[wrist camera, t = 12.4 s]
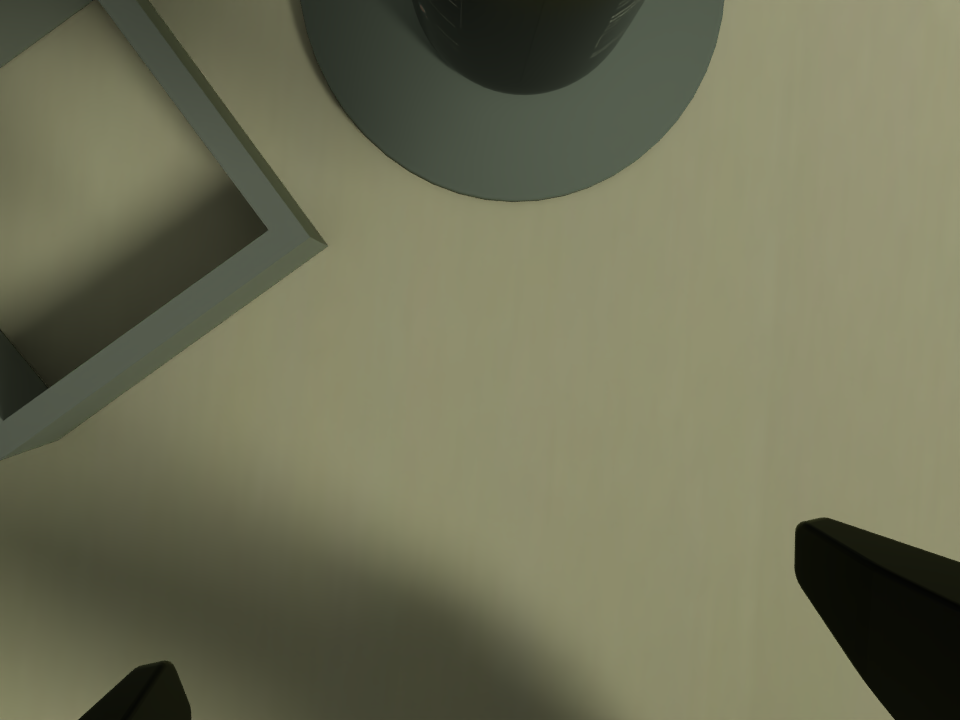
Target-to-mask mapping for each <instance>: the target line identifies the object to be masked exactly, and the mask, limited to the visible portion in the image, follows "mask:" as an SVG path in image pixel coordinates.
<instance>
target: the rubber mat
mask: <svg viewBox="0 0 960 720" xmlns="http://www.w3.org/2000/svg"><path fill="white" fill-rule="evenodd" d="M301 6H302V11H303V16H304V20H305V25H306V30H307V34H308V36H309V39H310V42H311V45H312V48H313V51H314V54H315V57H316V60H317V62H318V64H319V66H320V68H321V70H322V72H323V74H324V76H325V78H326V80H327V82H328V85H329V87H330V88H331V90H332V92H333V93H334V95H335V97H336V98H337V100H338V101H339V103H340V104H341V106H342V107H343V109H344V110H345V112H346V113H347V115H348V116H349V117H350V119H351V120H352V121H353V122H354V123H355V124H356V126H357V127H358V128H359V129H360V130H361V132H362V133H363V134H364V135H365V136H366V137H367V138H368V139H369V140H370V141H371V142H372V143H373V144H374V145H375V146H377V147H378V148H379V149H380V150H381V151H382V152H383V153H384V154H385V155H386V156H388V157H389V158H391V159H392V160H393V161H395V162H396V163H398V164H399V165H401V166H402V167H403V168H405V169H406V170H408V171H409V172H411V173H413V174H415V175H417V176H418V177H420V178H422V179H424V180H426V181H428V182H430V183H432V184H434V185H437V186H439V187H442V188H445V189H447V190H450V191H453V192H456V193H458V194H462V195H467V196H471V197H476V198H480V199H485V200H495V201H507V202H520V201H539V200H544V199H550V198H555V197H560V196H565V195H568V194H571V193H574V192H577V191H580V190H583V189H586V188H589V187H591V186H593V185H595V184H597V183H600V182H602V181H604V180H606V179H608V178H610V177H612V176H614V175H615V174H617V173H618V172H620V171H621V170H623V169H624V168H626V167H627V166H629V165H630V164H632V163H633V162H635V161H636V160H637V159H639V158H640V157H641V156H642V155H643V154H645V153H646V152H647V151H648V150H649V149H650V148H651V147H653V146H654V145H655V144H656V143H657V142H658V141H659V140H660V139H661V138H662V137H663V136H664V135H665V134H666V133H667V132H668V130H669V129H670V128H671V127H672V126H673V125H674V124H675V123H676V121H677V120H678V119H679V117H680V116H681V114H682V113H683V112H684V110H685V109H686V107H687V106H688V104H689V103H690V101H691V100H692V98H693V97H694V95H695V93H696V91H697V89H698V87H699V85H700V83H701V81H702V79H703V77H704V75H705V73H706V71H707V68H708V66H709V63H710V60H711V57H712V55H713V52H714V49H715V47H716V43H717V38H718V34H719V30H720V25H721V21H722V15H723V6H724V0H645V1H644V3H643V5H642V6H641V8H640V9H639V11H638V13H637V14H636V16H635V18H634V19H633V21H632V22H631V24H630V26H629V27H628V28H627V30H626V31H625V33H624V34H623V36H622V37H621V39H620V40H619V42H618V43H617V45H616V46H615V48H614V49H613V50H612V51H611V53H610V54H609V55H608V56H607V57H606V58H605V60H603V61H602V62H601V63H600V64H599V65H598V66H597V67H596V68H595V69H594V70H593V71H591V72H590V73H589V74H588V75H586V76H584V77H583V78H581V79H580V80H578V81H576V82H574V83H572V84H571V85H569V86H566V87H563V88H561V89H558V90H555V91H551V92H548V93H542V94H536V95H512V94H505V93H500V92H496V91H493V90H490V89H487V88H484V87H482V86H480V85H478V84H475V83H473V82H472V81H470V80H468V79H467V78H465V77H463V76H462V75H461V74H459V73H458V72H457V71H455V70H454V69H453V68H452V67H451V66H450V65H449V64H447V63H446V62H445V61H444V59H443V58H442V57H441V56H440V55H439V54H438V53H437V51H436V50H435V49H434V48H433V46H432V45H431V43H430V42H429V40H428V38H427V37H426V35H425V33H424V31H423V29H422V27H421V25H420V23H419V20H418V18H417V15H416V12H415V9H414V6H413V2H412V0H301Z"/></svg>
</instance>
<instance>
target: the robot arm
mask: <svg viewBox="0 0 960 720" xmlns="http://www.w3.org/2000/svg"><path fill="white" fill-rule="evenodd" d="M794 568H795V574H796V578H797V580H798V583H799V585H800V586H801V588H802V590H803V591H804V593H805V594H806V596H807V597H808V599H809V600H810V602H811V603H812V605H813V606H814V608H815V609H816V611H817V612H818V614H819V615H820V617H821V618H822V620H823V621H824V623H825V624H826V626H827V627H828V629H829V630H830V632H831V633H832V634H833V636H834V637H835V639H836V640H837V642H838V643H839V645H840V646H841V648H842V649H843V651H844V652H845V654H846V655H847V657H848V658H849V660H850V661H851V663H852V664H853V666H854V667H855V669H856V670H857V672H858V673H859V674H860V676H861V677H862V679H863V680H864V681H865V683H866V684H867V685H868V687H869V688H870V689H871V691H872V692H873V693H874V694H875V696H876V697H877V698H878V700H879V701H880V702H881V703H882V704H883V706H884V707H885V708H886V709H887V711H888V712H889V713H890V714H891V716H892V717H893V718H894V719H895V720H960V562H958V561H955V560H952V559H949V558H946V557H943V556H940V555H937V554H934V553H931V552H928V551H925V550H922V549H919V548H916V547H913V546H910V545H907V544H904V543H901V542H898V541H895V540H892V539H890V538H887V537H884V536H881V535H878V534H875V533H872V532H869V531H866V530H863V529H860V528H857V527H854V526H851V525H848V524H845V523H842V522H839V521H836V520H833V519H830V518H817V519H813V520H808V521H803V522H801V523H799V524H798V525H797V527H796V530H795V564H794ZM78 720H191V708H190V704H189V701H188V699H187V696H186V694H185V691H184V689H183V686H182V684H181V681H180V679H179V676H178V673H177V671H176V669H175V667H174V665H173V664H172V663H171V662H169V661H160V662H156V663H151V664H146V665H142V666H139V667H137V668H135V669H134V670H133V671H131V672H130V673H129V674H128V675H127V676H126V677H125V678H124V679H123V680H121V681H120V682H119V683H118V684H117V685H116V686H115V687H114V688H113V689H112V690H110V691H109V692H108V693H107V694H106V695H105V696H104V697H103V698H102V699H101V700H99V701H98V702H97V703H96V704H95V705H94V706H93V707H92V708H91V709H89V710H88V711H87V712H86V713H85V714H84V715H83V716H82V717H81V718H80V719H78Z"/></svg>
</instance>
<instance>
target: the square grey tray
mask: <svg viewBox="0 0 960 720" xmlns="http://www.w3.org/2000/svg"><path fill="white" fill-rule="evenodd" d="M91 1H93V0H0V68H1V67H2V66H3V65H5V64H6V63H7V62H9V61H10V60H12V59H13V58H14V57H16V56H17V55H19V54H20V53H21V52H23V51H24V50H25V49H27V48H28V47H30V46H31V45H32V44H34V43H35V42H36V41H38V40H39V39H41V38H42V37H43V36H45V35H46V34H47V33H49V32H50V31H52V30H53V29H54V28H56V27H57V26H58V25H60V24H61V23H63V22H64V21H65V20H67V19H68V18H69V17H71V16H72V15H74V14H75V13H76V12H78V11H79V10H80V9H82V8H83V7H85V6H86V5H87V4H89V3H90V2H91ZM98 1H99V2H100V4H101V5H102V6H103V8H104V9H105V10H106V12H107V13H108V14H109V16H110V17H111V18H112V20H113V21H114V22H115V24H116V25H117V26H118V28H119V29H120V31H121V32H122V33H123V35H124V36H125V37H126V39H127V40H128V41H129V43H130V44H131V45H132V47H133V48H134V49H135V51H136V52H137V53H138V55H139V56H140V57H141V59H142V60H143V62H144V63H145V64H146V66H147V67H148V68H149V70H150V71H151V72H152V74H153V75H154V76H155V78H156V79H157V80H158V82H159V83H160V84H161V86H162V87H163V88H164V90H165V91H166V93H167V94H168V95H169V97H170V98H171V99H172V101H173V102H174V103H175V105H176V106H177V107H178V109H179V110H180V111H181V113H182V114H183V115H184V117H185V118H186V119H187V121H188V122H189V124H190V125H191V126H192V128H193V129H194V130H195V132H196V133H197V134H198V136H199V137H200V138H201V140H202V141H203V142H204V144H205V145H206V146H207V148H208V149H209V150H210V152H211V153H212V155H213V156H214V157H215V159H216V160H217V161H218V163H219V164H220V165H221V167H222V168H223V169H224V171H225V172H226V173H227V175H228V176H229V177H230V179H231V180H232V181H233V183H234V184H235V186H236V187H237V188H238V190H239V191H240V192H241V194H242V195H243V196H244V198H245V199H246V200H247V202H248V203H249V204H250V206H251V207H252V208H253V210H254V211H255V212H256V214H257V215H258V217H259V218H260V219H261V221H262V222H263V223H264V225H265V226H266V227H267V229H268V231H267V232H265V233H264V234H262V235H261V236H260V237H258V238H257V239H255V240H254V241H253V242H251V243H250V244H248V245H247V246H246V247H244V248H243V249H242V250H240V251H239V252H237V253H236V254H235V255H233V256H232V257H230V258H229V259H228V260H226V261H225V262H223V263H222V264H221V265H219V266H218V267H217V268H215V269H214V270H212V271H211V272H210V273H208V274H207V275H205V276H204V277H203V278H201V279H200V280H198V281H197V282H196V283H194V284H193V285H192V286H190V287H189V288H187V289H186V290H185V291H183V292H182V293H180V294H179V295H178V296H176V297H175V298H173V299H172V300H171V301H169V302H168V303H166V304H165V305H164V306H162V307H161V308H160V309H158V310H157V311H155V312H154V313H153V314H151V315H150V316H148V317H147V318H146V319H144V320H143V321H141V322H140V323H139V324H137V325H136V326H135V327H133V328H132V329H130V330H129V331H128V332H126V333H125V334H123V335H122V336H121V337H119V338H118V339H116V340H115V341H114V342H112V343H111V344H110V345H108V346H107V347H105V348H104V349H103V350H101V351H100V352H98V353H97V354H96V355H94V356H93V357H91V358H90V359H89V360H87V361H86V362H85V363H83V364H82V365H80V366H79V367H78V368H76V369H75V370H73V371H72V372H71V373H69V374H68V375H66V376H65V377H64V378H62V379H61V380H60V381H58V382H57V383H55V384H54V385H53V386H51V387H50V388H47V387H46V385H45V384H44V383H43V382H42V381H41V379H40V378H39V377H38V376H37V375H36V373H35V372H34V371H33V370H32V368H31V367H30V366H29V365H28V364H27V362H26V361H25V360H24V359H23V357H22V356H21V355H20V354H19V353H18V351H17V350H16V349H15V348H14V346H13V345H12V344H11V343H10V342H9V340H8V339H7V338H6V337H5V335H4V334H3V333H2V332H1V331H0V460H3V459H6V458H9V457H11V456H14V455H17V454H20V453H23V452H26V451H29V450H31V449H34V448H37V447H40V446H43V445H46V444H48V443H51V442H54V441H57V440H59V439H60V438H62V437H63V436H64V435H66V434H67V433H69V432H70V431H71V430H73V429H74V428H76V427H77V426H78V425H80V424H81V423H83V422H84V421H85V420H87V419H88V418H90V417H91V416H92V415H94V414H95V413H97V412H98V411H99V410H101V409H102V408H103V407H105V406H106V405H108V404H109V403H110V402H112V401H113V400H115V399H116V398H117V397H119V396H120V395H122V394H123V393H124V392H126V391H127V390H129V389H130V388H131V387H133V386H134V385H135V384H137V383H138V382H140V381H141V380H142V379H144V378H145V377H147V376H148V375H149V374H151V373H152V372H154V371H155V370H156V369H158V368H159V367H161V366H162V365H163V364H165V363H166V362H167V361H169V360H170V359H172V358H173V357H174V356H176V355H177V354H179V353H180V352H181V351H183V350H184V349H186V348H187V347H188V346H190V345H191V344H193V343H194V342H195V341H197V340H198V339H199V338H201V337H202V336H204V335H205V334H206V333H208V332H209V331H211V330H212V329H213V328H215V327H216V326H218V325H219V324H220V323H222V322H223V321H225V320H226V319H227V318H229V317H230V316H231V315H233V314H234V313H236V312H237V311H238V310H240V309H241V308H243V307H244V306H245V305H247V304H248V303H250V302H251V301H252V300H254V299H255V298H257V297H258V296H259V295H261V294H262V293H264V292H265V291H266V290H268V289H269V288H270V287H272V286H273V285H275V284H276V283H277V282H279V281H280V280H282V279H283V278H284V277H286V276H287V275H289V274H290V273H291V272H293V271H294V270H296V269H297V268H298V267H300V266H301V265H302V264H304V263H305V262H307V261H308V260H309V259H311V258H312V257H314V256H315V255H316V254H318V253H319V252H321V251H322V250H323V249H325V248H326V247H328V245H327V244H326V242H325V241H324V240H323V238H322V237H321V236H320V234H319V233H318V232H317V230H316V229H315V227H314V226H313V225H312V223H311V222H310V221H309V219H308V218H307V217H306V215H305V214H304V212H303V211H302V210H301V208H300V207H299V206H298V204H297V203H296V201H295V200H294V199H293V197H292V196H291V195H290V193H289V192H288V191H287V189H286V188H285V186H284V185H283V184H282V182H281V181H280V180H279V178H278V177H277V175H276V174H275V173H274V171H273V170H272V169H271V167H270V166H269V165H268V163H267V162H266V160H265V159H264V158H263V156H262V155H261V154H260V152H259V151H258V150H257V148H256V147H255V145H254V144H253V143H252V141H251V140H250V139H249V137H248V136H247V134H246V133H245V132H244V130H243V129H242V128H241V126H240V125H239V124H238V122H237V121H236V119H235V118H234V117H233V115H232V114H231V113H230V111H229V110H228V108H227V107H226V106H225V104H224V103H223V102H222V100H221V99H220V98H219V96H218V95H217V93H216V92H215V91H214V89H213V88H212V87H211V85H210V84H209V83H208V81H207V80H206V78H205V77H204V76H203V74H202V73H201V72H200V70H199V69H198V67H197V66H196V65H195V63H194V62H193V61H192V59H191V58H190V57H189V55H188V54H187V52H186V51H185V50H184V48H183V47H182V46H181V44H180V43H179V41H178V40H177V39H176V37H175V36H174V35H173V33H172V32H171V31H170V29H169V28H168V26H167V25H166V24H165V22H164V21H163V20H162V18H161V17H160V16H159V14H158V13H157V11H156V10H155V9H154V7H153V6H152V5H151V3H150V2H149V0H98Z"/></svg>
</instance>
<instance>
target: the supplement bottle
mask: <svg viewBox="0 0 960 720" xmlns="http://www.w3.org/2000/svg"><path fill="white" fill-rule="evenodd" d="M644 1H645V0H412V2H413V6H414V9H415V12H416V15H417V18H418V20H419V23H420V25H421V27H422V29H423V31H424V33H425V35H426V37H427V38H428V40H429V42H430V43H431V45H432V46H433V48H434V49H435V50H436V51H437V53H438V54H439V55H440V56H441V57H442V58H443V59H444V61H445V62H446V63H447V64H449V65H450V66H451V67H452V68H453V69H454V70H455V71H457V72H458V73H459V74H461V75H462V76H463V77H465V78H467V79H468V80H470V81H472V82H473V83H475V84H478V85H480V86H482V87H484V88H487V89H490V90H493V91H496V92H500V93H505V94H512V95H536V94H542V93H548V92H551V91H555V90H558V89H561V88H563V87H566V86H569V85H571V84H572V83H574V82H576V81H578V80H580V79H581V78H583V77H584V76H586V75H588V74H589V73H590V72H591V71H593V70H594V69H595V68H596V67H597V66H598V65H599V64H600V63H601V62H602V61H603V60H605V58H606V57H607V56H608V55H609V54H610V53H611V51H612V50H613V49H614V48H615V46H616V45H617V43H618V42H619V40H620V39H621V37H622V36H623V34H624V33H625V31H626V30H627V28H628V27H629V26H630V24H631V22H632V21H633V19H634V18H635V16H636V14H637V13H638V11H639V9H640V8H641V6H642V5H643V3H644Z"/></svg>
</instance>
